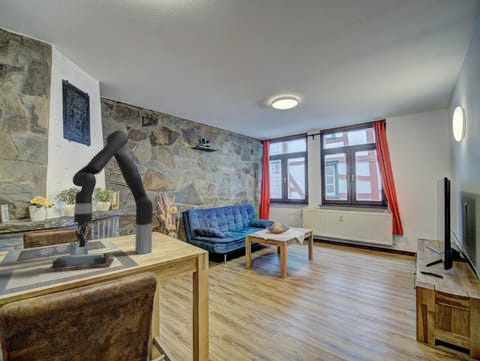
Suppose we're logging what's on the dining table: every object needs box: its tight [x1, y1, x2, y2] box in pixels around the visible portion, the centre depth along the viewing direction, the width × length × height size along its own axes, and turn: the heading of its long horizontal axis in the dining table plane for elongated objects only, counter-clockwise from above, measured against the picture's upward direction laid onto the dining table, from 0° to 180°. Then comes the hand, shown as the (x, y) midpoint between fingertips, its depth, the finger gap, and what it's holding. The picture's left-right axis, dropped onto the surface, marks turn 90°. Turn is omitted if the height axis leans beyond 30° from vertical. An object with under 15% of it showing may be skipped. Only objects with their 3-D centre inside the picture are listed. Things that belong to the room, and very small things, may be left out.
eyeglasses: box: [39, 244, 70, 256], centre depth 135 cm, size 14×8×4 cm, turn 144°
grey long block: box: [59, 252, 105, 266], centre depth 115 cm, size 18×4×4 cm, turn 109°
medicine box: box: [69, 239, 89, 255], centre depth 130 cm, size 8×4×9 cm, turn 168°
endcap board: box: [45, 252, 114, 274], centre depth 115 cm, size 26×10×4 cm, turn 108°
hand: (82, 246), depth 115 cm, fingers closed
